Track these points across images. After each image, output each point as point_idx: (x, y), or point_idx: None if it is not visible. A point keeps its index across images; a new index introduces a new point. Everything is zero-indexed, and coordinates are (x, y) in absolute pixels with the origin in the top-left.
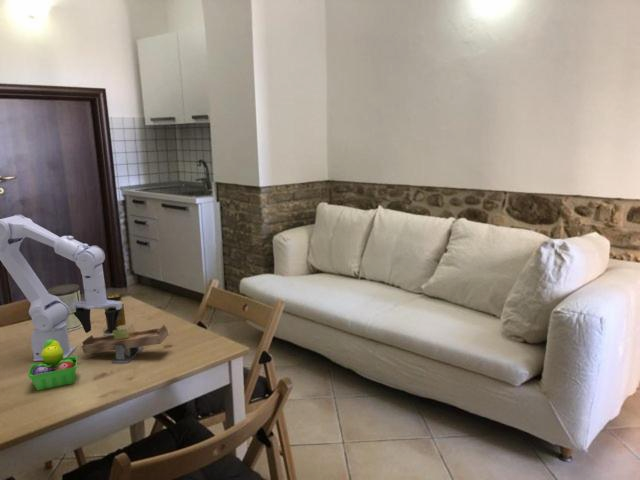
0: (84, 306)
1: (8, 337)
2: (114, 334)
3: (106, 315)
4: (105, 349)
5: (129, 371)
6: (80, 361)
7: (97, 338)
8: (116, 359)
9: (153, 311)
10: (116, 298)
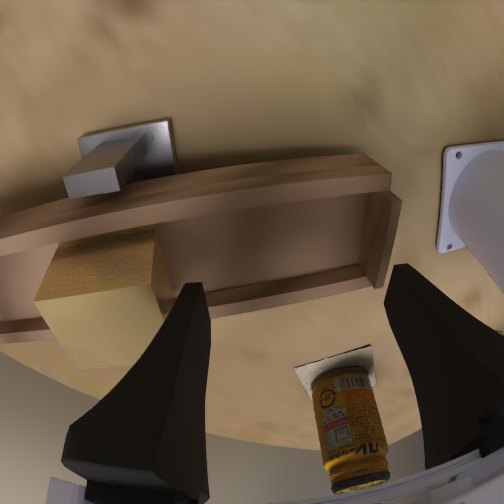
0: (492, 495)
1: None
2: (143, 261)
3: (150, 428)
4: (221, 172)
5: (30, 66)
6: (366, 125)
7: (341, 278)
8: (147, 139)
9: (280, 441)
10: (342, 485)
